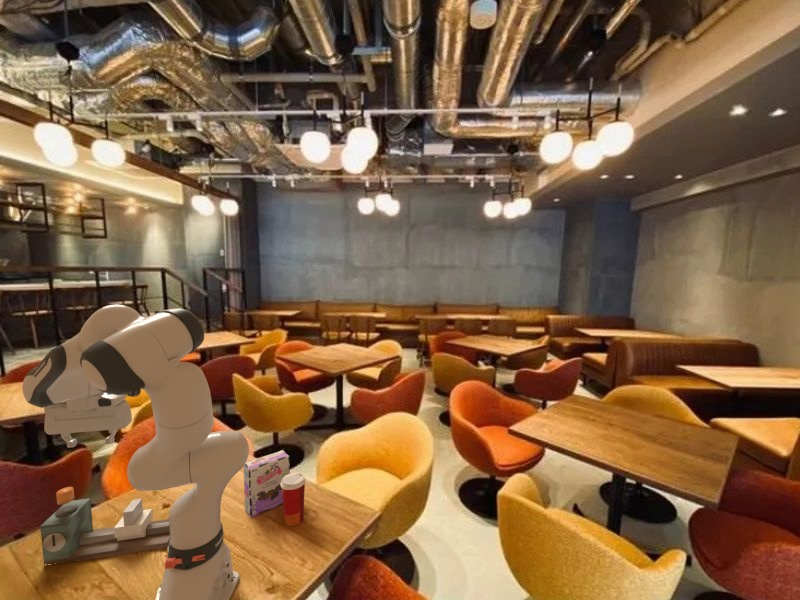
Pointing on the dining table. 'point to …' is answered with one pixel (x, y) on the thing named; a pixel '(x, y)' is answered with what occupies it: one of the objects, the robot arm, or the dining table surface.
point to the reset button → (65, 495)
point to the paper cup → (293, 498)
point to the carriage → (133, 521)
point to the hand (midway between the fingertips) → (91, 444)
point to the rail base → (118, 546)
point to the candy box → (265, 482)
